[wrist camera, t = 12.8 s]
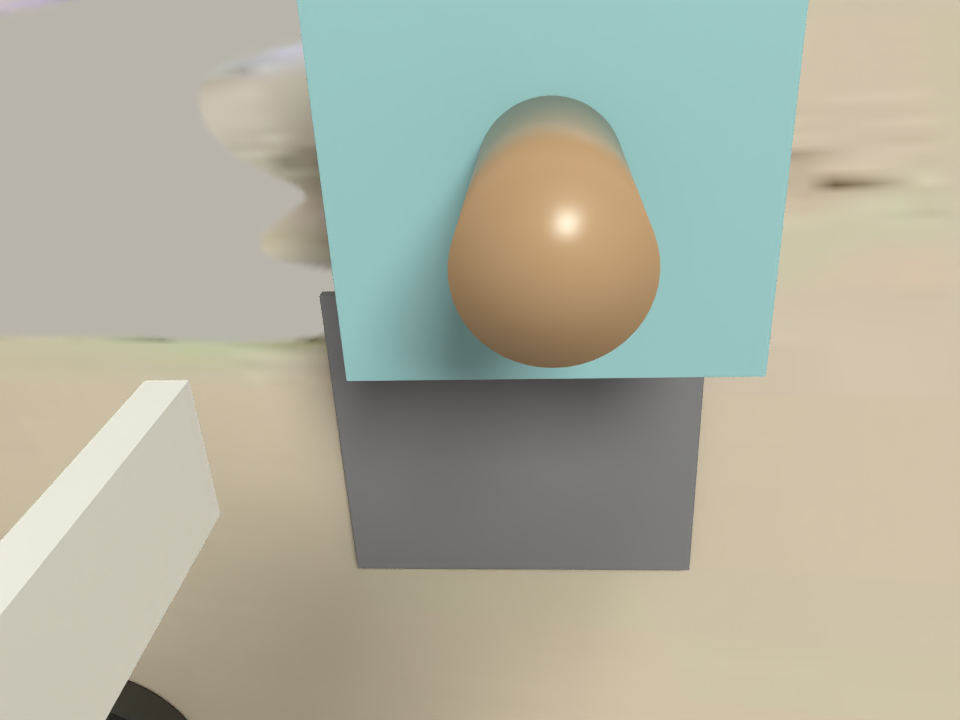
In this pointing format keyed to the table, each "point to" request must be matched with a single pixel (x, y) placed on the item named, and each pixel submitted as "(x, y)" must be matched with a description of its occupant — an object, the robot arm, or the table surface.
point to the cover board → (615, 61)
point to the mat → (517, 469)
